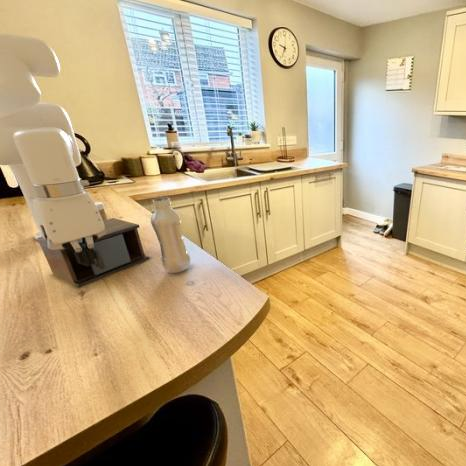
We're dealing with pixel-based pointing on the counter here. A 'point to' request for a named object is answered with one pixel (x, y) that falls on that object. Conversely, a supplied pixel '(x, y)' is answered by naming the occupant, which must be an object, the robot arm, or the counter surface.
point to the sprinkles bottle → (101, 210)
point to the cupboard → (79, 274)
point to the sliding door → (109, 254)
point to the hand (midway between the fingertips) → (88, 263)
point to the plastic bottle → (169, 236)
